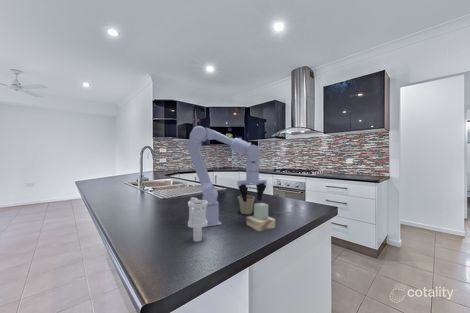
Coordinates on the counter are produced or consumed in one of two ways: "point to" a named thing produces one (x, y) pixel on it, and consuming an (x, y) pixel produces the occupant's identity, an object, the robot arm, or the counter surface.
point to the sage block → (261, 211)
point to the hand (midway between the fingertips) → (252, 200)
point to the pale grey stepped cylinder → (197, 217)
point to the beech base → (261, 223)
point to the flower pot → (246, 204)
